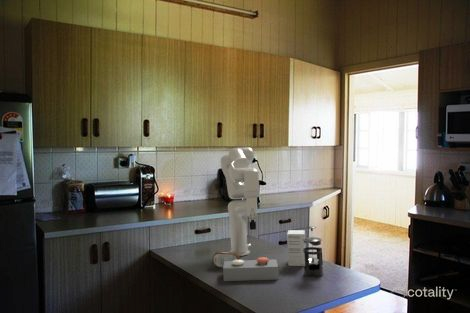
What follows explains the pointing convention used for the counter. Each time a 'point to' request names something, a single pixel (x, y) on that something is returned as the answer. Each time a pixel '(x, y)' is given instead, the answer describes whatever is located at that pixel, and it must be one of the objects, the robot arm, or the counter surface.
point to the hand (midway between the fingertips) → (252, 229)
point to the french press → (313, 269)
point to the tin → (224, 257)
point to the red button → (262, 260)
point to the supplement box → (296, 247)
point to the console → (250, 271)
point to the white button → (237, 262)
